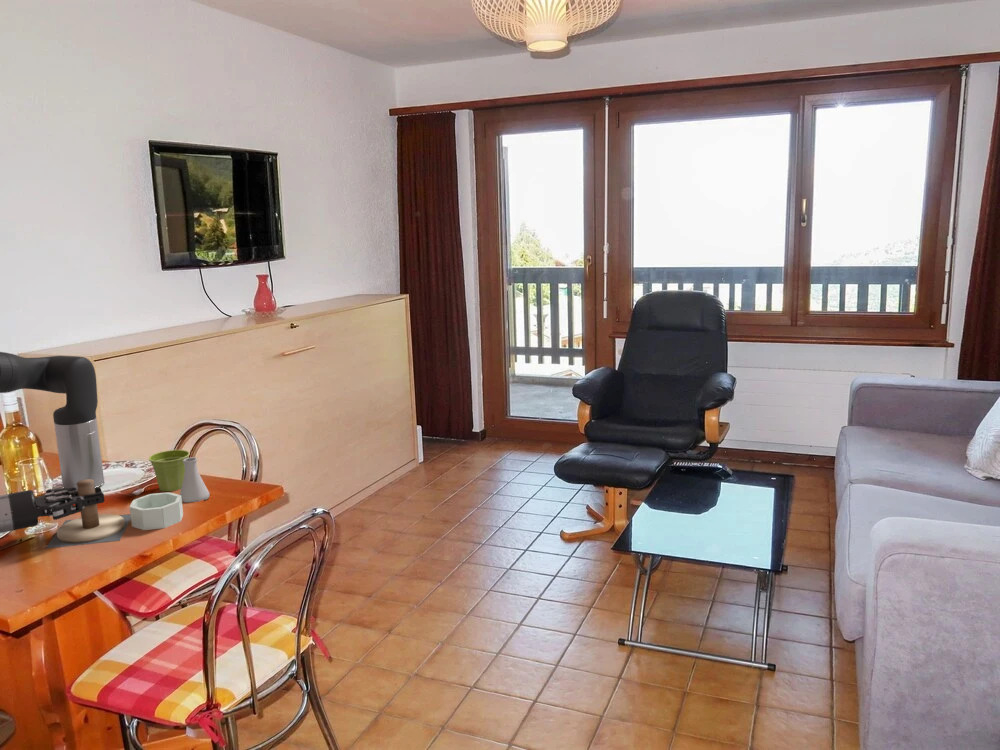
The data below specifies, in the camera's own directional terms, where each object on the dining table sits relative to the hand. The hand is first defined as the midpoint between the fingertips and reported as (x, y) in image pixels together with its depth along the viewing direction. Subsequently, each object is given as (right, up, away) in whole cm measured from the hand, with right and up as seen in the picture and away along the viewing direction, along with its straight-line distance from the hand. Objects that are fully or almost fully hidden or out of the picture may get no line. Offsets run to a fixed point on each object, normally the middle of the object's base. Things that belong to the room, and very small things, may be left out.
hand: (102, 494), depth 168 cm
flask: (+12, -4, +19) cm, 23 cm away
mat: (-2, -8, 0) cm, 8 cm away
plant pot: (+4, -3, +26) cm, 27 cm away
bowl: (+10, -7, +5) cm, 13 cm away
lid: (-2, -8, 0) cm, 8 cm away
